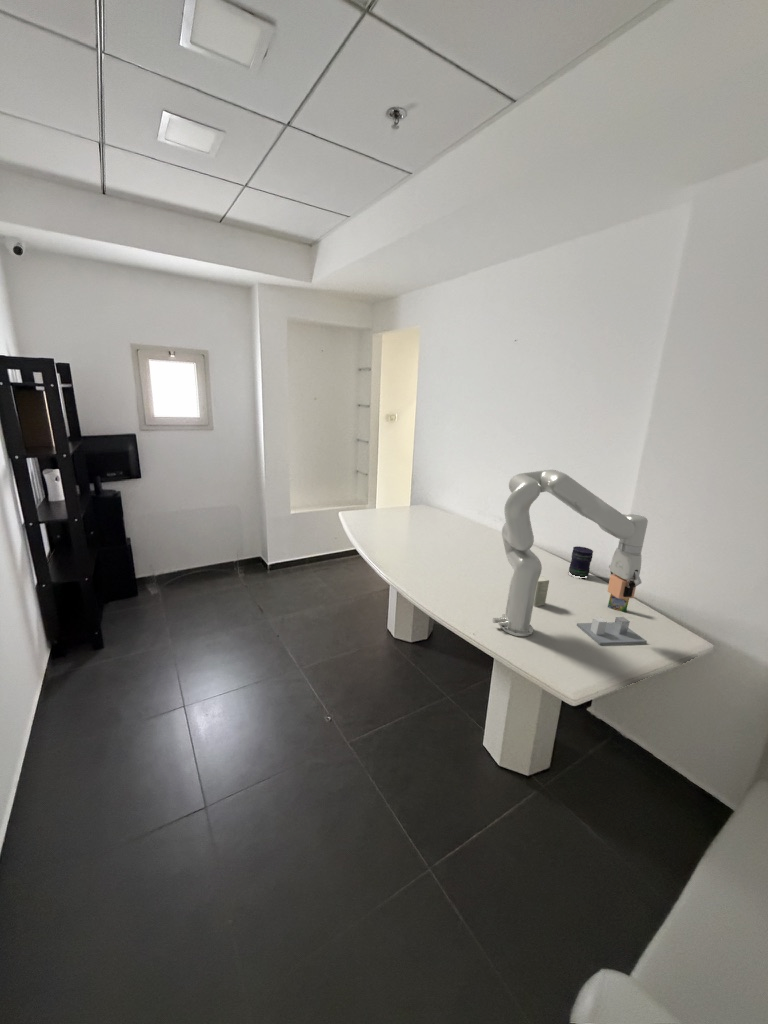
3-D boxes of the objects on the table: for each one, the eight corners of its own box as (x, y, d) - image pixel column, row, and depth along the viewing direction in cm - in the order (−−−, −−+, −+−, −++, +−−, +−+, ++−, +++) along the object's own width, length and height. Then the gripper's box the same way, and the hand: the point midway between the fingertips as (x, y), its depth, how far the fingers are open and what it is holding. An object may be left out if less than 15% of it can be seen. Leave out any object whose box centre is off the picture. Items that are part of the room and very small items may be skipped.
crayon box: (607, 607, 181) (612, 583, 178) (608, 605, 183) (613, 581, 180) (625, 612, 177) (631, 588, 174) (626, 610, 179) (632, 586, 176)
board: (599, 645, 149) (603, 629, 148) (576, 625, 163) (579, 610, 161) (646, 643, 153) (650, 628, 151) (620, 624, 166) (623, 610, 164)
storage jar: (583, 580, 209) (588, 554, 206) (564, 574, 216) (569, 548, 213) (591, 576, 216) (596, 550, 212) (572, 570, 223) (577, 545, 219)
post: (619, 634, 156) (622, 621, 155) (613, 629, 159) (615, 617, 158) (626, 633, 157) (629, 621, 155) (620, 629, 160) (623, 616, 159)
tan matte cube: (618, 598, 149) (622, 581, 148) (607, 591, 155) (610, 574, 154) (633, 598, 150) (637, 580, 149) (621, 590, 156) (625, 574, 154)
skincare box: (538, 600, 183) (543, 576, 180) (545, 605, 178) (550, 580, 175) (527, 601, 181) (531, 577, 178) (533, 606, 177) (538, 581, 174)
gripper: (604, 540, 156) (596, 583, 160) (638, 556, 139) (628, 603, 144) (622, 540, 157) (613, 582, 161) (657, 556, 140) (646, 602, 145)
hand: (620, 592), depth 152 cm, fingers closed on tan matte cube, 6 cm apart
